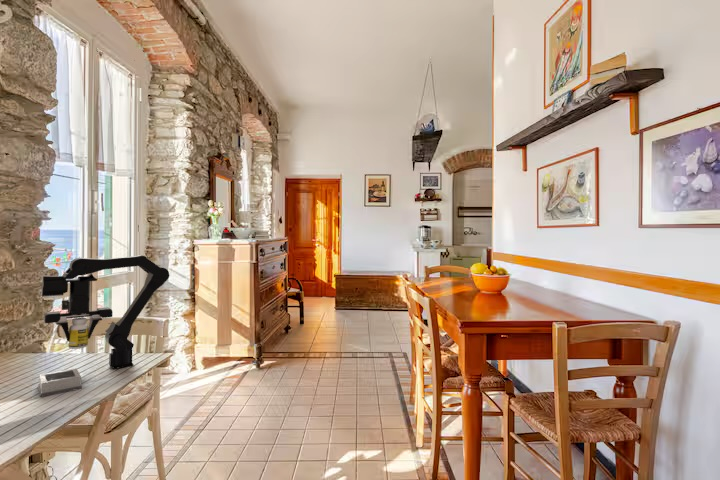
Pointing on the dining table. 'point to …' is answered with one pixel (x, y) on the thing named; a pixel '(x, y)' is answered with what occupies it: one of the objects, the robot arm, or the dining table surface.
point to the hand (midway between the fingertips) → (78, 339)
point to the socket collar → (59, 382)
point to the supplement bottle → (78, 334)
